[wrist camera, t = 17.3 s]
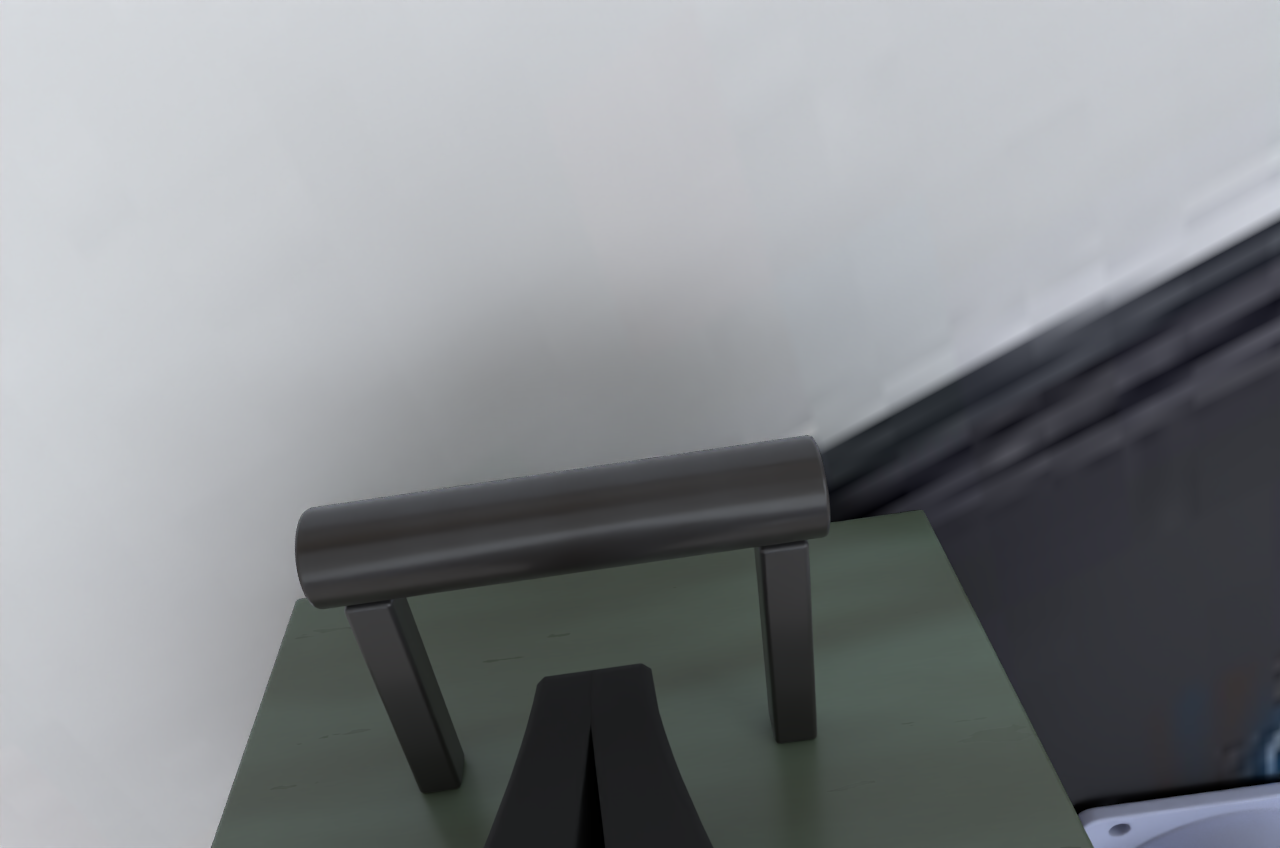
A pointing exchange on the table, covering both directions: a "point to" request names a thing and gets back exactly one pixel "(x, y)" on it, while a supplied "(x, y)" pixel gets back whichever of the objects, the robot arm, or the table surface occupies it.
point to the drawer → (643, 662)
